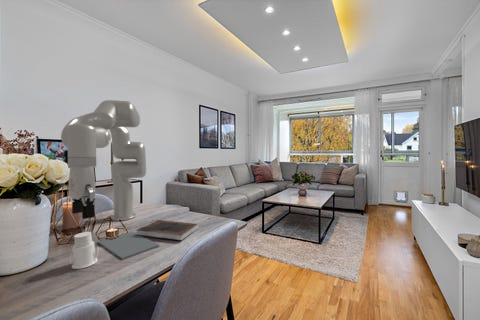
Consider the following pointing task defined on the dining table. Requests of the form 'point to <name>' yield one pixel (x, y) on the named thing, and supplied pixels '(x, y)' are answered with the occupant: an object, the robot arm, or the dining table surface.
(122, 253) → the mat
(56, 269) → the dining table surface
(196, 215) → the dining table surface
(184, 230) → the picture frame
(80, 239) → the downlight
